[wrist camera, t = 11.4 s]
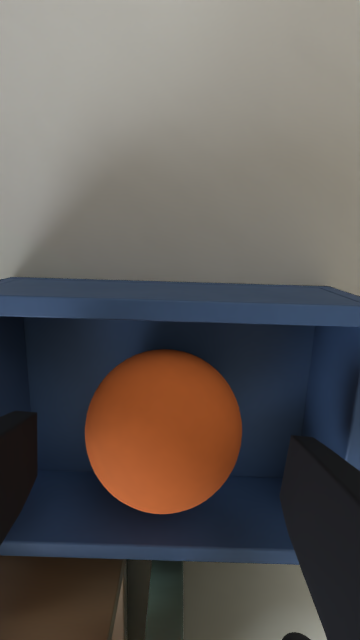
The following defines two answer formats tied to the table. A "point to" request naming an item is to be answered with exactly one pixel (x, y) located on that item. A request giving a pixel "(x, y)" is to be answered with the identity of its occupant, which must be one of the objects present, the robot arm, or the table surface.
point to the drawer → (86, 599)
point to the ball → (163, 431)
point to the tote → (213, 347)
